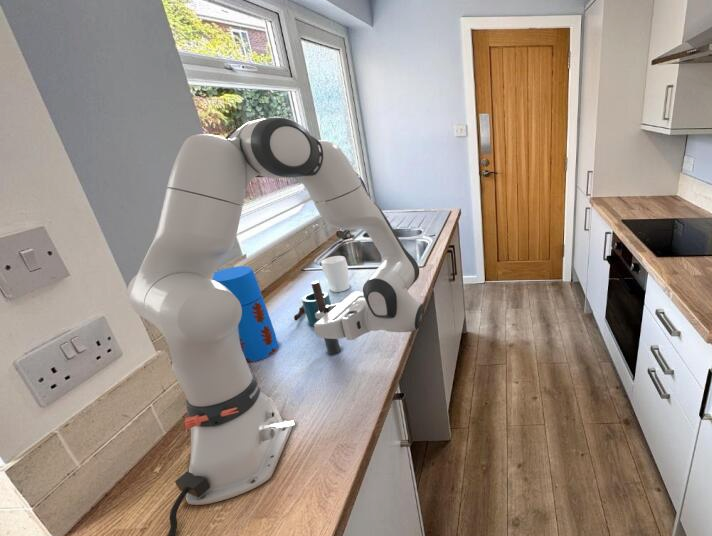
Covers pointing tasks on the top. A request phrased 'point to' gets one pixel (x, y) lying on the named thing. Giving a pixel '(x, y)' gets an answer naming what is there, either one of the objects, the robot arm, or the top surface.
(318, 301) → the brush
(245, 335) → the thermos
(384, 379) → the top surface
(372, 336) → the top surface
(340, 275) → the cup
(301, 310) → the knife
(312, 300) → the teal hollow cylinder
